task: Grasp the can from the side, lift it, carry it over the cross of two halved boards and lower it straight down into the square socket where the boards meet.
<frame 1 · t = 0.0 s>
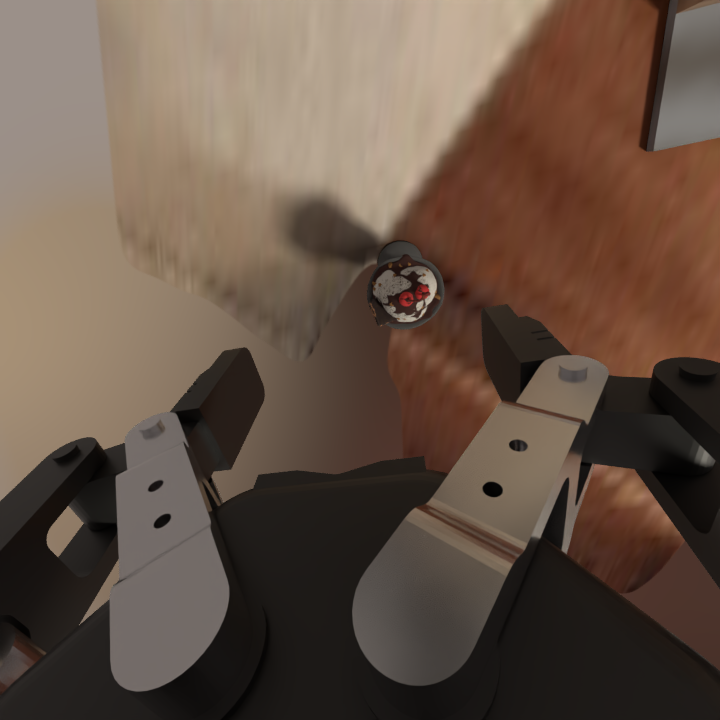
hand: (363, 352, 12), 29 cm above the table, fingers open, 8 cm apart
sundae: (399, 262, 40), on the table
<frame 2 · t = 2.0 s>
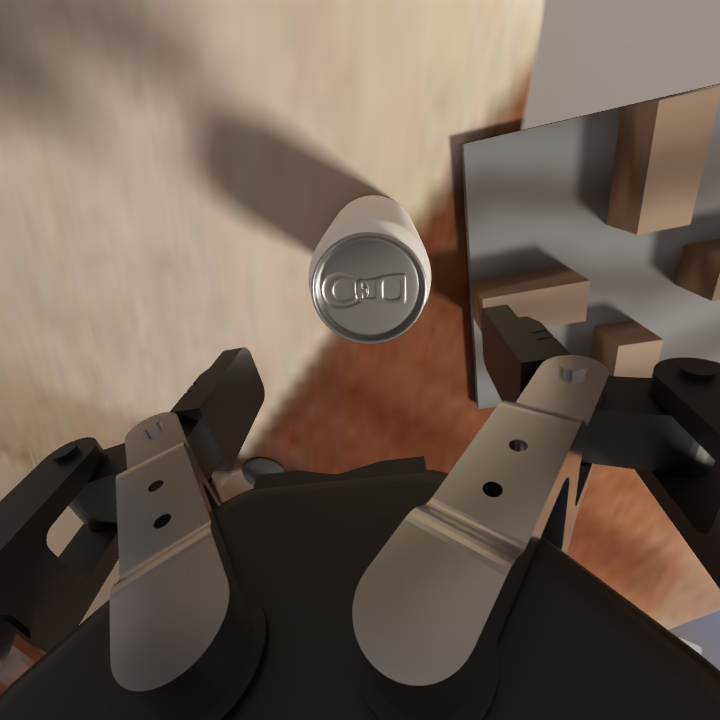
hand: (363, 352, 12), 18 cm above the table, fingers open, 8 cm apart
crossing block: (613, 271, 28), on the table
can: (372, 239, 28), on the table
sundae: (264, 471, 41), on the table
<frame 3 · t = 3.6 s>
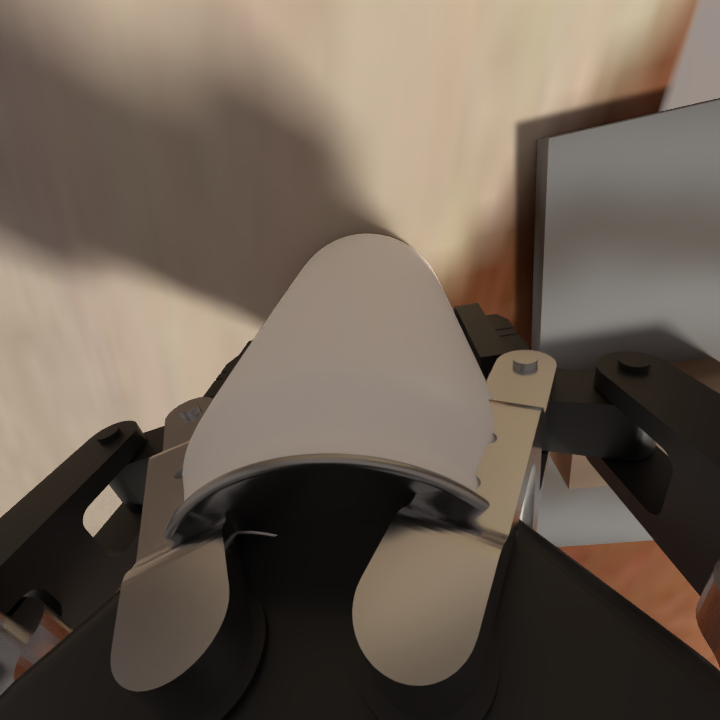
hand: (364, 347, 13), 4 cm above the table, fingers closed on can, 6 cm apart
can: (367, 305, 16), on the table, touching gripper
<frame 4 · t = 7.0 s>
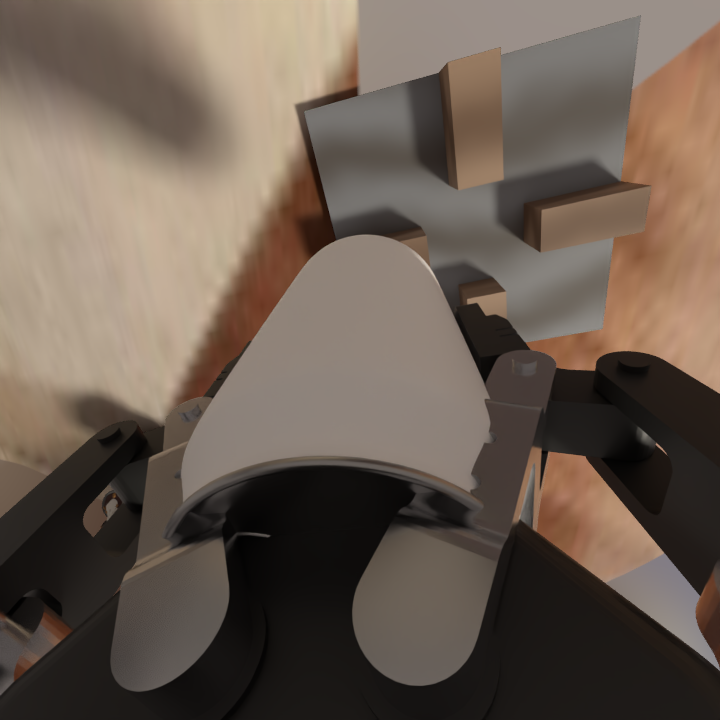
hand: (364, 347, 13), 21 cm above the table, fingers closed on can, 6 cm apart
crossing block: (469, 231, 30), on the table
can: (366, 306, 16), point 17 cm above the table, touching gripper
sundae: (185, 438, 44), on the table
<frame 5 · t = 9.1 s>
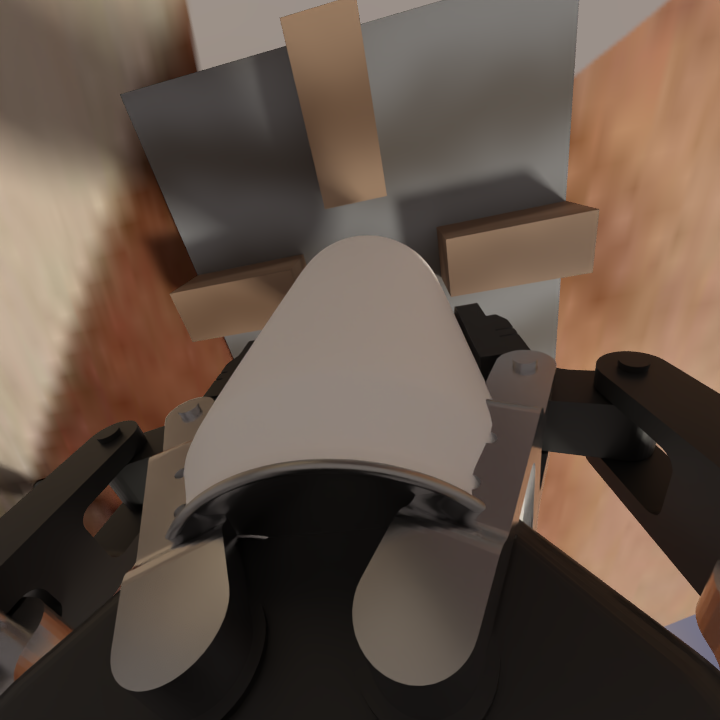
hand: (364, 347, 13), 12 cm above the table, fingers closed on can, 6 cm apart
crossing block: (373, 261, 23), on the table
can: (367, 306, 16), point 8 cm above the table, touching gripper
when the fingers open (6 cm above the table, at t = 10.7 s): can drops 1 cm, resting on crossing block.
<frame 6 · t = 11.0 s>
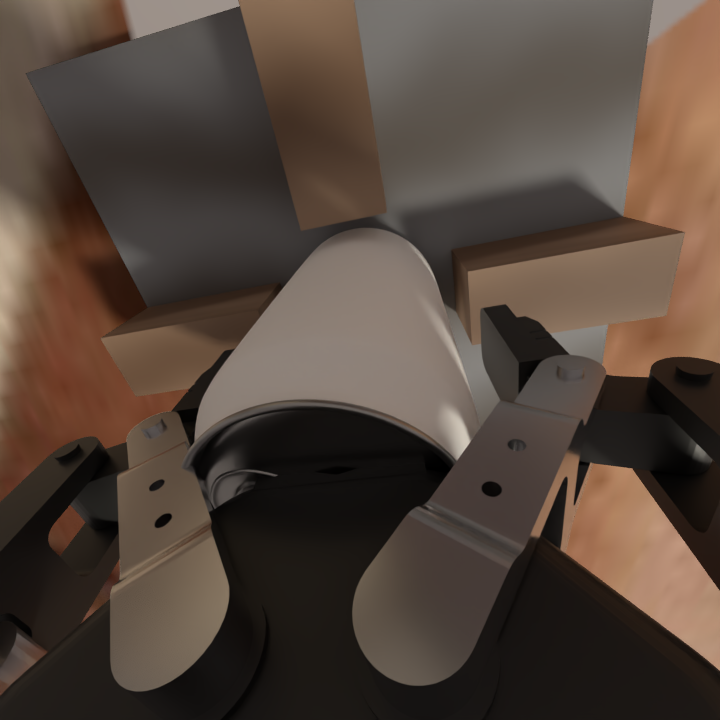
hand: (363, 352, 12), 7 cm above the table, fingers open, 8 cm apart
crossing block: (369, 290, 18), on the table
can: (367, 295, 17), point 1 cm above the table, touching crossing block
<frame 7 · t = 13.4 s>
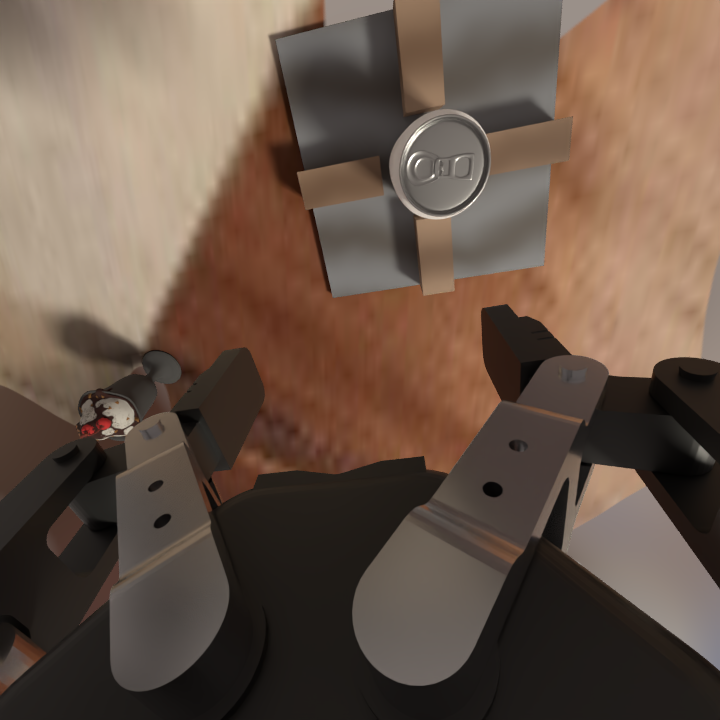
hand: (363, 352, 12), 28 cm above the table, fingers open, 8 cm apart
crossing block: (424, 165, 34), on the table
can: (424, 164, 33), point 1 cm above the table, touching crossing block
sundae: (163, 366, 46), on the table
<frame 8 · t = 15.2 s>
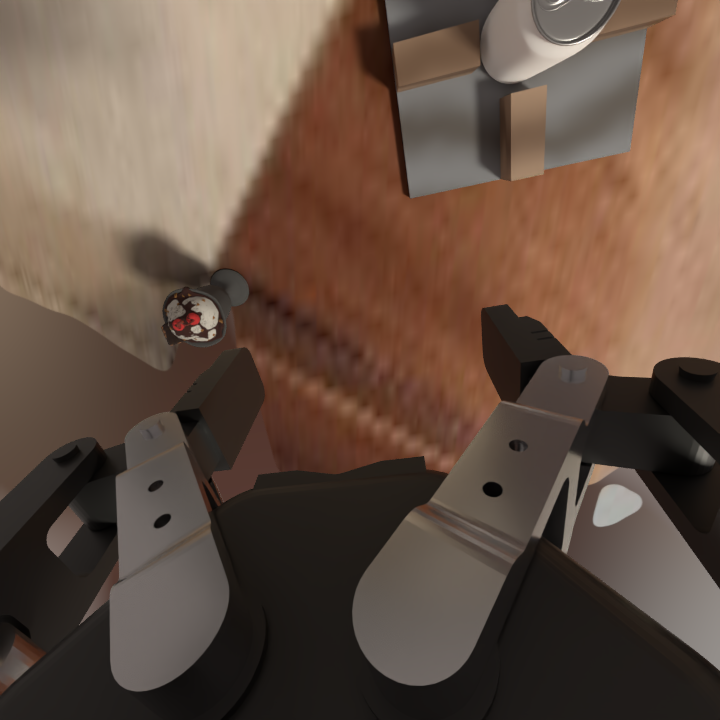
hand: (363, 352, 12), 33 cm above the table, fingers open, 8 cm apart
crossing block: (512, 44, 33), on the table
can: (514, 40, 32), point 1 cm above the table, touching crossing block
sundae: (230, 287, 46), on the table
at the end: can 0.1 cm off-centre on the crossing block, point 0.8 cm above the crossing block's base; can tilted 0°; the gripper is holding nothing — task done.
